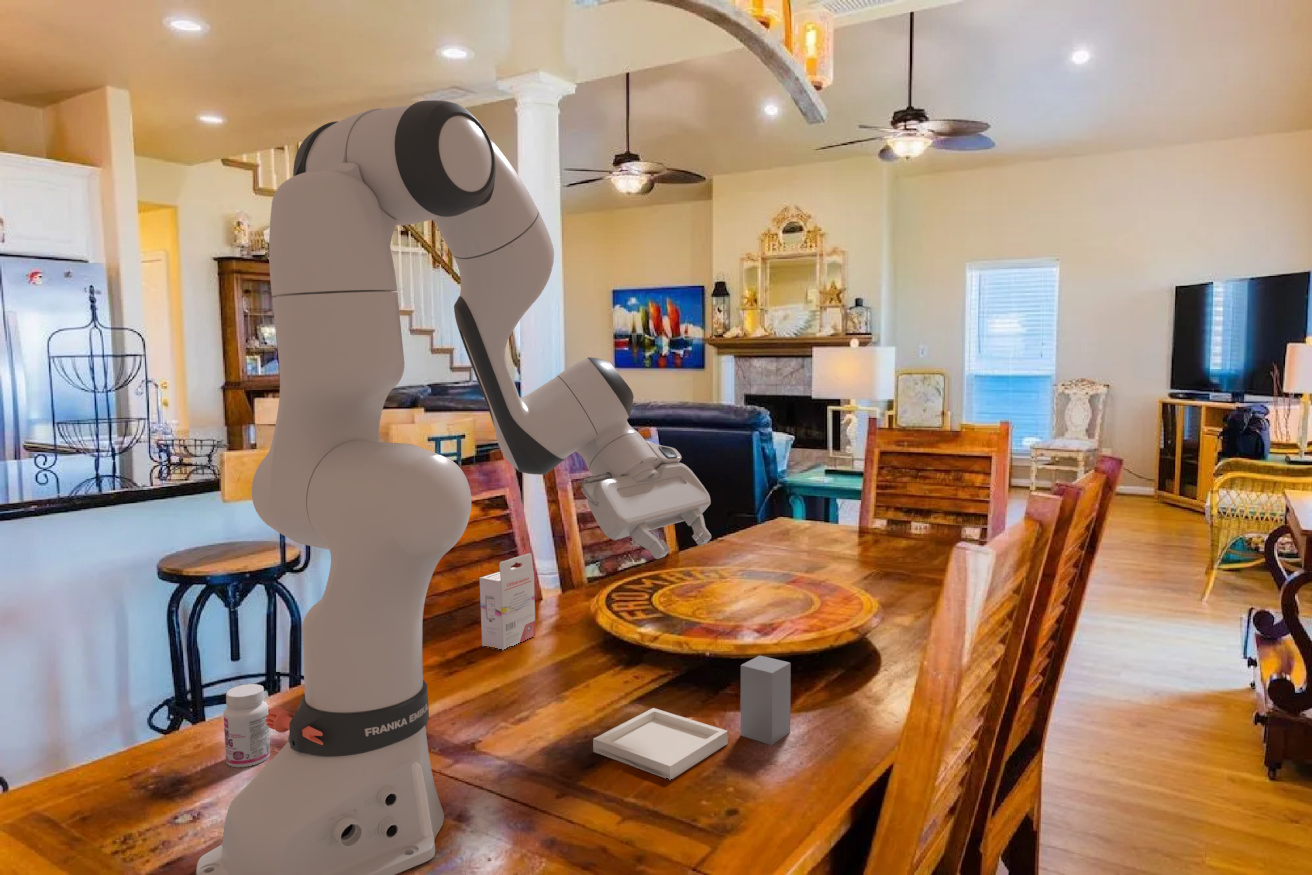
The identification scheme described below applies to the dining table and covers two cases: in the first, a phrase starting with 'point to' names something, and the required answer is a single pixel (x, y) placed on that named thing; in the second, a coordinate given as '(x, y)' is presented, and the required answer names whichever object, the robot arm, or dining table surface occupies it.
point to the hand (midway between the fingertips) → (685, 548)
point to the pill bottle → (246, 726)
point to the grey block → (765, 699)
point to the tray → (660, 742)
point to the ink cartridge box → (508, 604)
